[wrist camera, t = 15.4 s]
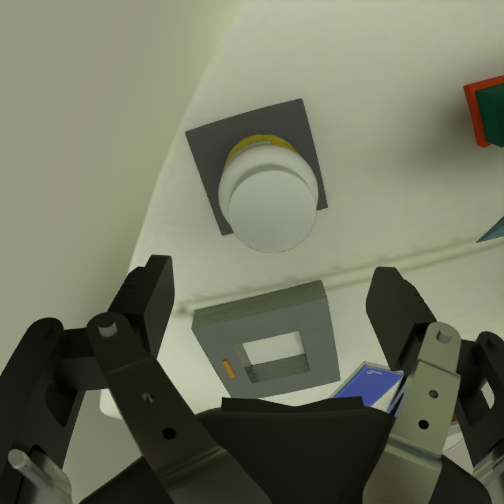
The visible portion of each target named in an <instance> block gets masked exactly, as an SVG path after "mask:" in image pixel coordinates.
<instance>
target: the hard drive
mask: <svg viewBox="0 0 504 504" xmlns="http://www.w3.org/2000/svg"><path fill="white" fill-rule="evenodd" d="M403 374H404V373H403V371H393V372H391V370H390V368H389V366H384V365H380V364H376V363H372V362H367V361H364V362H363V363H362V364H361V365H360V366H359V367H358V368H357V369H356V370H355V371H354V372H353V374H352V375H351V376H350V377H349V378H348V379H347V380H346V381H345V382H344V383H343V384H342V385H341V386H340V387H339V388H338V389H337V390H336V391H335V392H334V393H333V394H332V395H331V396H330V397H329V398H339V397H354V396H362V400H363V403H364V406H368V407H370V406H372V405H373V404H374V403H375V402H376V401H377V400H378V399H380V398H381V397H382V396H383V395H384V394H385V393H386V392H387V391H388V390H389V389H390V388H391V387H393V386H394V385H395V384H396V383H397V382H398V381H399V380H400V379H401V378H402V376H403Z"/></svg>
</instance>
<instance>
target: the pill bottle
mask: <svg viewBox="0 0 504 504" xmlns="http://www.w3.org/2000/svg"><path fill="white" fill-rule="evenodd" d="M218 196H219V204H220V208H221V211H222V213H223V215H224V217H225V219H226V220H227V222H228V223H229V224H230V226H231V228H232V230H233V232H234V233H235V235H236V236H237V237H238V239H239V240H240V241H241V242H242V243H244V244H245V245H246V246H248V247H250V248H252V249H254V250H257V251H260V252H265V253H278V252H283V251H286V250H289V249H291V248H293V247H295V246H297V245H298V244H300V243H301V242H302V241H303V240H304V239H305V238H306V237H307V236H308V235H309V233H310V232H311V230H312V228H313V226H314V223H315V219H316V206H317V202H318V185H317V181H316V178H315V175H314V173H313V171H312V169H311V167H310V166H309V165H308V163H307V162H306V161H305V160H304V159H303V158H302V157H301V156H300V154H299V153H298V152H297V151H296V150H295V149H294V148H293V147H292V146H291V145H290V144H289V143H288V142H287V141H286V140H284V139H283V138H281V137H279V136H276V135H273V134H269V133H258V134H253V135H250V136H247V137H245V138H243V139H242V140H240V141H239V142H238V143H237V144H236V145H235V146H234V147H233V148H232V150H231V151H230V153H229V155H228V158H227V160H226V163H225V167H224V170H223V173H222V177H221V180H220V184H219V193H218Z"/></svg>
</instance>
